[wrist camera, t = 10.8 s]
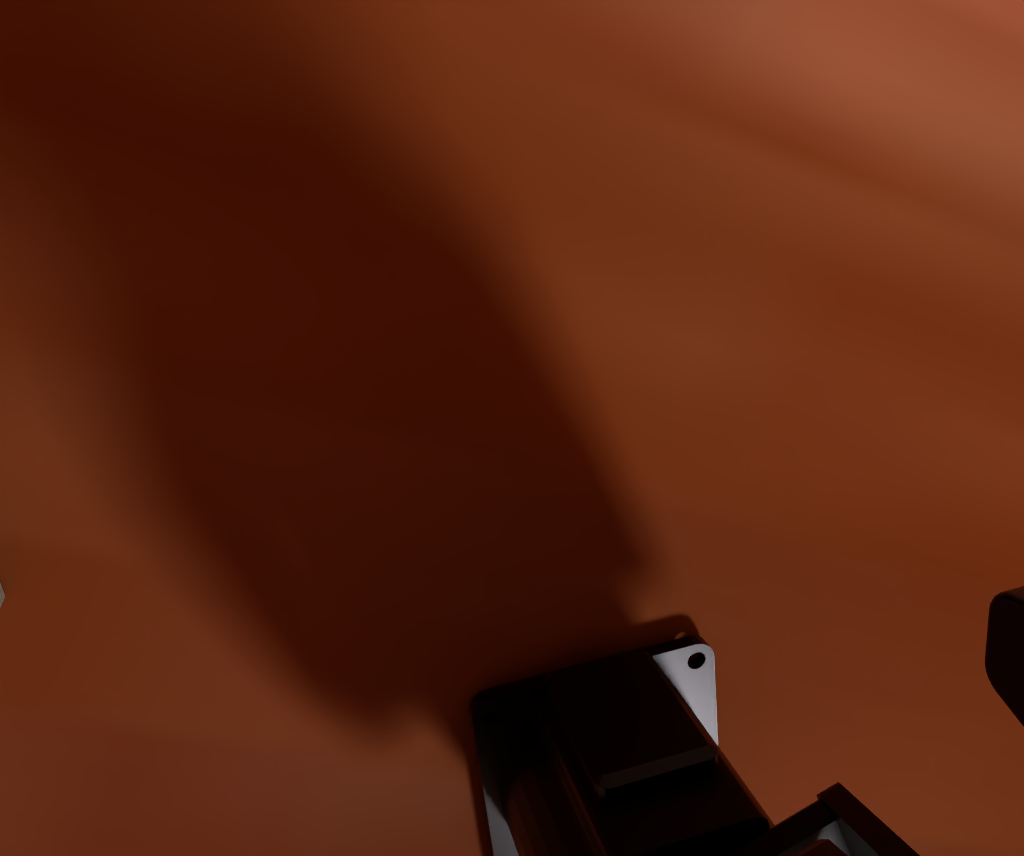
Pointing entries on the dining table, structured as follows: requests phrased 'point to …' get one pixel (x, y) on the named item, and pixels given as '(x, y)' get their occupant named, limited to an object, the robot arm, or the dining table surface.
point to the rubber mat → (1, 595)
